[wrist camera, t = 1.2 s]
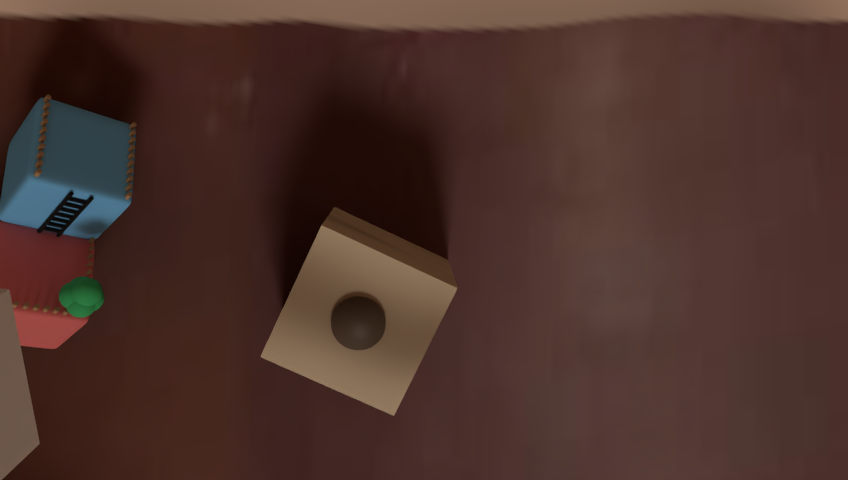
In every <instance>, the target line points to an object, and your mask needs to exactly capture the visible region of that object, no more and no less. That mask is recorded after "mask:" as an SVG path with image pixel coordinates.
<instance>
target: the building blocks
mask: <svg viewBox="0 0 848 480" xmlns="http://www.w3.org/2000/svg"><path fill="white" fill-rule="evenodd" d="M136 125H137V124H136V123H135V122H133V123H132V124H131V125H130V124H127V123H124V122H121V121H118V120H115V119H112V118H109V117H106V116H102V115H99V114H96V113H93V112H90V111H87V110H84V109H81V108H77V107H74V106H71V105H68V104H65V103H62V102H59V101H55V100H52V99H51V96H50V95H46V97H45V98H40V99H39V100H38V101H37V102H36V104H35V105H34V107H33V108H32V110H31V111H30V113H29V114H28V116H27V117H26V119H25V120H24V122H23V123H22V125H21V126H20V128H19V129H18V131H17V132H16V134H15V135H14V137H13V138H12V140H11V142H10V144H9V148H8V153H7V160H6V167H5V173H4V180H3V187H2V193H1V200H0V220H2V221H0V288H1V289H9V290H10V295H11V300H12V306H13V311H14V316H15V321H16V326H17V331H18V336H19V341H20V346H29V347H37V348H46V349H55V348H57V347H59V346H60V345H61V344H62V343H63V342H65V341H66V340H67V339H68V338H69V337H71V336H72V335H73V334H74V333H75V332H77V331H78V330H79V329H80V328H81V327H82V326H84V325H85V324H86V323H87V321H88V319H89V315H91V314H92V313H93V312H94V311H96V310H97V309H99V308H100V307H101V306H102V304H103V302H104V293H103V291H102V287H101V285H100V283H99V282H98V281H96V280H94V279H92V278H93V266H94V254H95V243H94V241H95V239H97V238H98V237H99V236H100V235H101V234H102V233H103V232H104V231H105V230H106V229H107V228H108V227H109V226H110V225H111V224H112V223H113V222H114V221H115V220H116V219H117V218H118V217H119V216H120V215H121V214H122V213H123V212H124V211H125V210H126V209H127V208H128V206H129V205H130V204H131V201H132V191H133V175H134V159H135V143H136V130H135V127H136Z"/></svg>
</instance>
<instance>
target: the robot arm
mask: <svg viewBox="0 0 848 480" xmlns="http://www.w3.org/2000/svg"><path fill="white" fill-rule="evenodd" d="M39 444H40V442H39V437H38V432H37V427H36V422H35V417H34V412H33V407H32V402H31V397H30V392H29V387H28V382H27V377H26V371H25V366H24V361H23V356H22V351H21V346H20V341H19V336H18V331H17V326H16V321H15V316H14V311H13V306H12V300H11V295H10V290H9V289H1V288H0V480H2V479H3V478H4V477H5V476H6V475H7V474H8V473H9V472H10V471H11V470H13V469H14V468H15V467H16V466H17V465H18V464H19V463H20V462H21V461H22V460H23V459H24V458H25V457H26V456H27V455H28V454H29V453H30V452H31V451H33V450H34V449H35V448H36V447H37V446H38V445H39Z"/></svg>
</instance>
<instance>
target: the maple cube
mask: <svg viewBox="0 0 848 480" xmlns="http://www.w3.org/2000/svg"><path fill="white" fill-rule="evenodd" d="M456 290H457V285H456V282H455V279H454V276H453V273H452V270H451V267H450V264H449V261H448V260H447V259H445V258H443V257H441V256H439V255H436V254H434V253H432V252H430V251H428V250H426V249H424V248H421V247H419V246H417V245H415V244H413V243H411V242H409V241H407V240H404V239H402V238H400V237H398V236H396V235H394V234H392V233H389V232H387V231H385V230H383V229H381V228H379V227H377V226H374V225H372V224H370V223H368V222H366V221H364V220H362V219H360V218H357V217H355V216H353V215H351V214H349V213H347V212H345V211H342V210H340V209H338V208H336V207H334V208H333V210H332V211H331V213H330V214H329V215H328V217H327V218H326V220H325V221H324V222H323V224H322V225H321V227H320V229H319V232H318V234H317V236H316V238H315V240H314V242H313V245H312V247H311V249H310V251H309V253H308V255H307V258H306V260H305V262H304V264H303V266H302V268H301V270H300V273H299V275H298V277H297V279H296V281H295V283H294V286H293V288H292V290H291V292H290V294H289V296H288V299H287V301H286V303H285V305H284V307H283V309H282V311H281V314H280V316H279V318H278V320H277V322H276V324H275V327H274V329H273V331H272V333H271V335H270V337H269V340H268V342H267V344H266V346H265V348H264V350H263V352H262V355H261V357H262V358H264V359H266V360H268V361H271V362H273V363H275V364H277V365H280V366H282V367H284V368H287V369H289V370H291V371H293V372H296V373H298V374H300V375H302V376H305V377H307V378H309V379H312V380H314V381H316V382H318V383H321V384H323V385H325V386H327V387H330V388H332V389H334V390H336V391H339V392H341V393H343V394H346V395H348V396H350V397H352V398H355V399H357V400H359V401H361V402H364V403H366V404H368V405H371V406H373V407H375V408H377V409H380V410H382V411H384V412H386V413H389V414H391V415H393V416H394V415H395V413H396V411H397V409H398V407H399V405H400V403H401V401H402V399H403V397H404V395H405V393H406V390H407V388H408V386H409V384H410V382H411V380H412V378H413V376H414V374H415V372H416V370H417V368H418V366H419V364H420V362H421V360H422V358H423V356H424V354H425V352H426V350H427V348H428V346H429V344H430V342H431V340H432V338H433V336H434V334H435V332H436V330H437V328H438V326H439V324H440V322H441V320H442V318H443V316H444V314H445V312H446V310H447V308H448V306H449V304H450V302H451V300H452V298H453V296H454V294H455V292H456Z"/></svg>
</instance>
